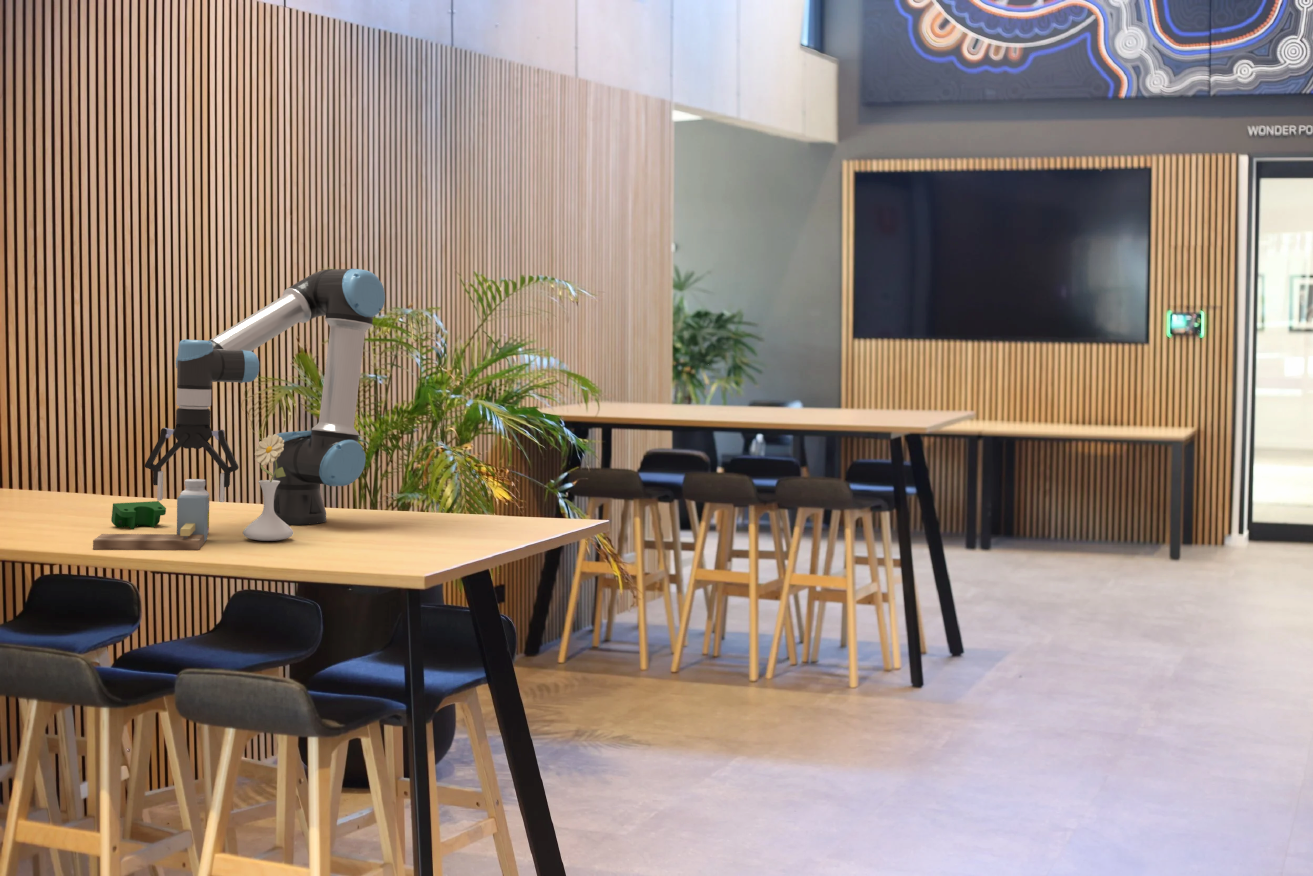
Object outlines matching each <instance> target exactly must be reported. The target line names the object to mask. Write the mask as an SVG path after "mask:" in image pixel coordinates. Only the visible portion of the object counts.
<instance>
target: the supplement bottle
mask: <svg viewBox="0 0 1313 876" xmlns="http://www.w3.org/2000/svg"><path fill="white" fill-rule="evenodd" d="M184 486H185V488H184V490H182V491H181V492H180V494H179V496H180V495H208V533H209V531H210V530H209V529H210V492H208V490H206V489H205V487H206V479H203V478H189V479H188V478H187V479H184Z"/></svg>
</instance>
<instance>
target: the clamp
mask: <svg viewBox="0 0 1313 876" xmlns="http://www.w3.org/2000/svg"><path fill="white" fill-rule="evenodd" d="M166 512H167V507H165V505H163V504H162V503H161V501H155V500H153V501H138V502H137V501H134V502H133V501H132V502H117V503H114V502H113V503H112V510H111V519H110V520H111V523H112V524H113V526H115V527H116V528H130V530H134V529H135V527H149V526H150V527H151V528H152V529H154V528H156V526H157V525H159V523H160V521H161V516H165V515H166Z"/></svg>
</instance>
